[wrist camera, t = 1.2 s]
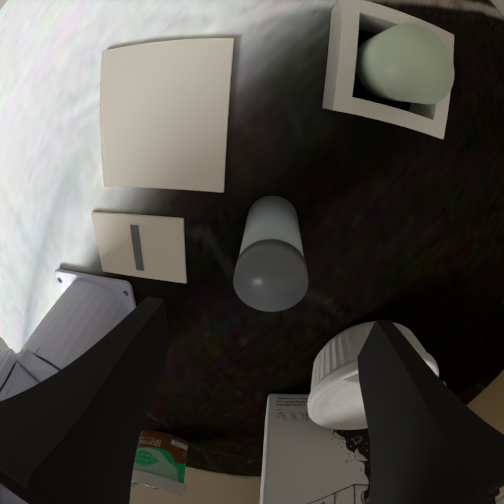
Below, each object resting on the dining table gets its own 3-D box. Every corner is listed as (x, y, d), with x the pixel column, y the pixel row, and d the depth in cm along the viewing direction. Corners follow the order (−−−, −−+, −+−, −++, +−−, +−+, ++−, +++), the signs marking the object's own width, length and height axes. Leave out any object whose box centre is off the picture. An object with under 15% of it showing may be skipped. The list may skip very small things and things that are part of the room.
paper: (224, 190, 17) (223, 192, 16) (106, 184, 17) (104, 186, 17) (234, 39, 12) (233, 38, 12) (104, 51, 12) (102, 50, 12)
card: (186, 281, 20) (185, 284, 20) (104, 269, 20) (102, 272, 20) (183, 218, 18) (182, 220, 18) (92, 211, 18) (90, 213, 18)
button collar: (418, 130, 14) (443, 139, 11) (322, 107, 14) (332, 110, 11) (427, 40, 11) (454, 35, 8) (331, 11, 11) (342, -6, 8)
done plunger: (412, 107, 12) (449, 114, 9) (351, 91, 12) (376, 90, 9) (418, 49, 10) (456, 41, 7) (357, 29, 10) (382, 11, 7)
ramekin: (432, 298, 20) (457, 344, 15) (408, 376, 25) (420, 416, 21) (300, 319, 22) (304, 374, 17) (307, 392, 27) (309, 436, 23)
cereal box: (445, 379, 26) (485, 557, 4) (420, 410, 30) (445, 564, 8) (268, 392, 27) (250, 617, 6) (265, 421, 31) (250, 601, 10)
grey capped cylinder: (294, 243, 18) (300, 314, 13) (245, 238, 18) (231, 307, 13) (301, 198, 17) (314, 255, 11) (248, 192, 17) (235, 247, 11)
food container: (168, 425, 35) (154, 484, 26) (195, 441, 37) (184, 496, 29) (120, 427, 38) (104, 474, 30) (144, 442, 41) (132, 487, 32)
